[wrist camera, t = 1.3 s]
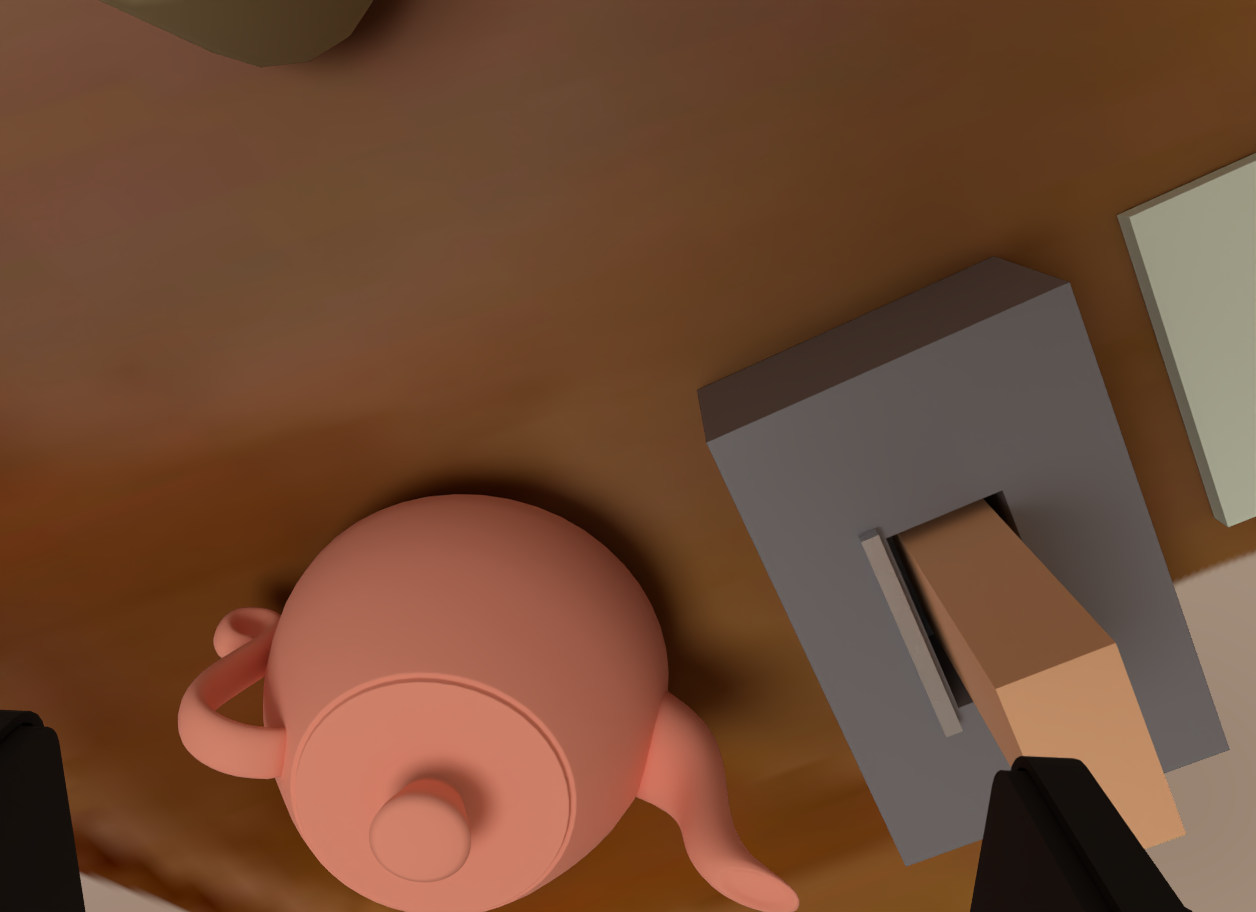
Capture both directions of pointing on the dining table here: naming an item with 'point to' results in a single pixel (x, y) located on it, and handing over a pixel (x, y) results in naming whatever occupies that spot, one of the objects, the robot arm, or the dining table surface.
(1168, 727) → the dispenser
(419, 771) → the teapot
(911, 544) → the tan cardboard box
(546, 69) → the dining table surface
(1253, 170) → the mat
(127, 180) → the dining table surface
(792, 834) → the dining table surface
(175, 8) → the squeeze bottle
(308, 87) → the dining table surface
